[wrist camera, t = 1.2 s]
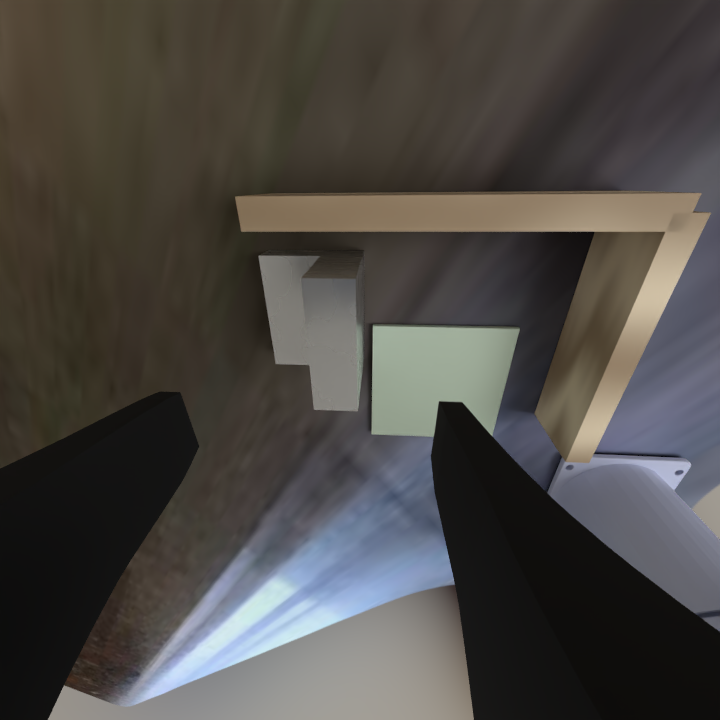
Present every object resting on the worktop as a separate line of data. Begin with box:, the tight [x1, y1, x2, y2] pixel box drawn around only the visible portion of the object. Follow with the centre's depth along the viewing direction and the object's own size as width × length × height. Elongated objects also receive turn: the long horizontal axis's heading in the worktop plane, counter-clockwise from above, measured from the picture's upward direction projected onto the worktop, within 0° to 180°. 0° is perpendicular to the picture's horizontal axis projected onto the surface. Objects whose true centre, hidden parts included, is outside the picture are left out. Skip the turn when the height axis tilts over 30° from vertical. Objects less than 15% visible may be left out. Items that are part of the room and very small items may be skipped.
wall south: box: [535, 211, 711, 463], centre depth 15 cm, size 12×1×4 cm, turn 0°
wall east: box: [235, 191, 701, 232], centre depth 13 cm, size 1×16×4 cm, turn 91°
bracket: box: [259, 250, 364, 411], centre depth 15 cm, size 6×5×6 cm
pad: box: [372, 324, 520, 437], centre depth 19 cm, size 8×8×1 cm
